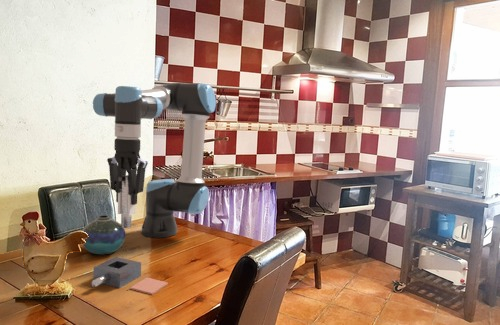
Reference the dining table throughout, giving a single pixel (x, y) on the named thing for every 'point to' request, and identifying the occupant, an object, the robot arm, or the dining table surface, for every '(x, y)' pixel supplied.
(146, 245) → the dining table surface
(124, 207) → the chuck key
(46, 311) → the dining table surface
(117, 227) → the vase
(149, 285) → the mat
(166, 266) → the dining table surface
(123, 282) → the chuck block
